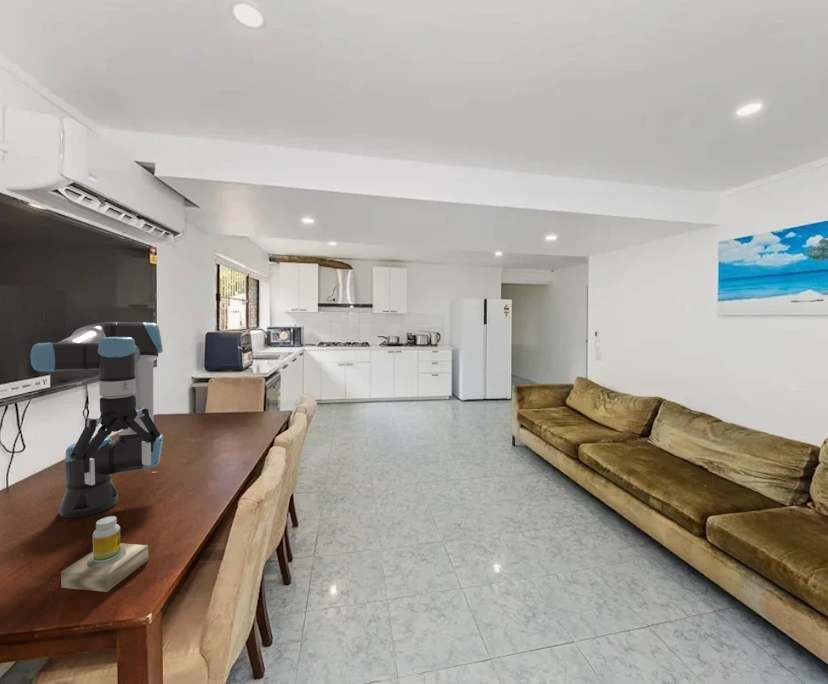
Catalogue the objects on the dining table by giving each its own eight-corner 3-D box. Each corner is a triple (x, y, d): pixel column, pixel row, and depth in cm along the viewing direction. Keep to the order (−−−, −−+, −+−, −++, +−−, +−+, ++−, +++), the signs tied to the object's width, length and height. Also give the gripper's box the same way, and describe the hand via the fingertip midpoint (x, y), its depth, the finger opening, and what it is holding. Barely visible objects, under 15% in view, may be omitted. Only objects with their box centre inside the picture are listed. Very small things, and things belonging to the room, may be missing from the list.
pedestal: (61, 587, 88) (60, 570, 88) (107, 556, 100) (107, 541, 100) (106, 591, 87) (106, 574, 87) (148, 559, 99) (148, 544, 99)
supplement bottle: (91, 556, 93) (90, 520, 93) (118, 547, 97) (117, 512, 97) (94, 566, 89) (93, 528, 89) (122, 556, 93) (121, 519, 93)
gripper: (67, 406, 84) (70, 496, 85) (173, 388, 107) (174, 459, 109) (49, 403, 87) (52, 490, 88) (156, 386, 110) (157, 455, 111)
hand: (120, 473), depth 98 cm, fingers open, 13 cm apart
